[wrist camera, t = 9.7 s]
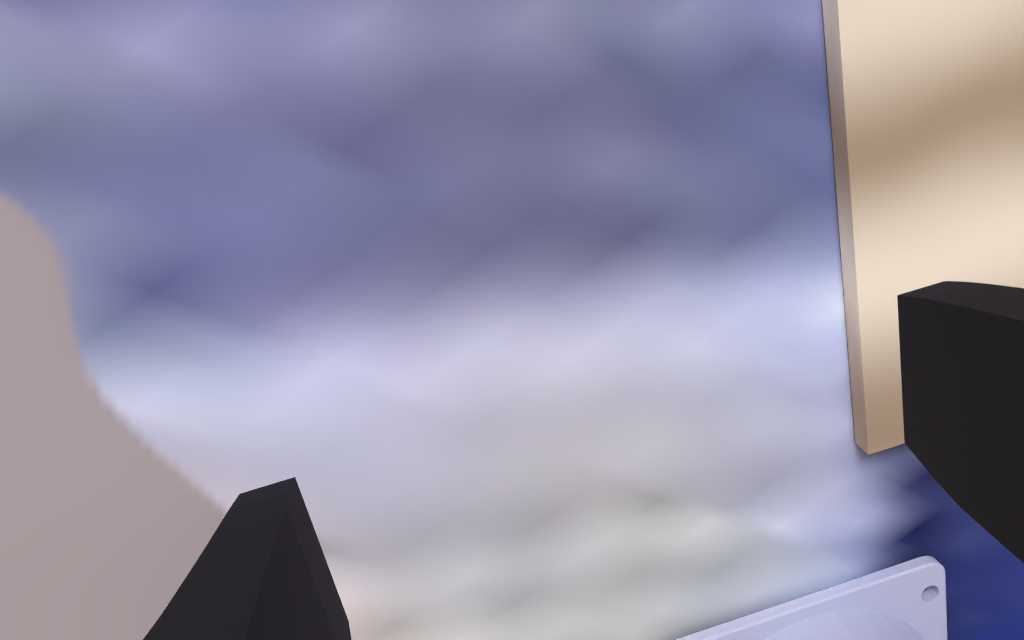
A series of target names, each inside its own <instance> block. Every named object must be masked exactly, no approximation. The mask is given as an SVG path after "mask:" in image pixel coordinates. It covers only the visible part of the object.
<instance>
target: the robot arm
mask: <svg viewBox="0 0 1024 640" xmlns="http://www.w3.org/2000/svg"><path fill="white" fill-rule="evenodd" d="M897 301H898V321H899V342H900V362H901V382H902V403H903V423H904V442H905V444H906V445H907V446H908V447H909V448H910V450H911V451H912V452H913V453H914V454H915V456H916V457H917V458H918V459H919V461H920V462H921V463H922V464H923V465H924V467H925V468H926V469H927V470H928V471H929V473H930V474H931V475H932V476H933V477H934V479H935V480H936V481H937V482H938V483H939V484H940V485H941V486H942V488H943V489H944V490H945V491H946V492H947V493H948V494H949V495H950V496H951V498H952V499H953V500H954V501H955V502H956V503H957V504H958V505H959V506H960V507H961V508H962V509H963V510H964V511H965V512H966V513H968V514H969V515H970V516H971V517H972V518H973V519H974V520H975V521H976V522H978V523H979V524H980V525H981V526H982V527H983V528H984V529H985V530H987V531H988V532H989V533H990V534H991V535H992V536H993V537H994V538H996V539H997V540H998V541H999V542H1000V543H1001V544H1002V545H1003V546H1005V547H1006V548H1007V549H1008V550H1009V551H1010V552H1011V553H1013V554H1014V555H1015V556H1016V557H1017V558H1018V559H1020V560H1021V561H1022V562H1023V563H1024V288H1018V287H1010V286H1002V285H994V284H985V283H975V282H960V281H943V282H940V283H936V284H933V285H930V286H926V287H923V288H920V289H916V290H913V291H910V292H907V293H903V294H900V295H897ZM927 587H928V588H927ZM926 588H927V589H926ZM925 589H926V590H925ZM143 640H351V634H350V628H349V622H348V619H347V616H346V613H345V611H344V608H343V605H342V603H341V600H340V597H339V594H338V592H337V589H336V586H335V584H334V581H333V578H332V576H331V573H330V570H329V568H328V565H327V562H326V559H325V557H324V554H323V551H322V549H321V546H320V543H319V541H318V538H317V535H316V533H315V530H314V527H313V524H312V522H311V519H310V516H309V514H308V511H307V508H306V506H305V503H304V500H303V497H302V495H301V492H300V489H299V487H298V484H297V481H296V479H295V477H294V478H291V479H288V480H284V481H281V482H278V483H274V484H271V485H268V486H264V487H261V488H258V489H254V490H251V491H248V492H245V493H241V494H240V495H239V496H238V497H237V499H236V500H235V502H234V503H233V505H232V506H231V508H230V509H229V511H228V512H227V514H226V516H225V517H224V519H223V520H222V522H221V523H220V525H219V527H218V528H217V530H216V531H215V533H214V535H213V536H212V538H211V540H210V541H209V543H208V544H207V546H206V547H205V549H204V551H203V552H202V554H201V555H200V557H199V559H198V560H197V562H196V563H195V565H194V566H193V568H192V569H191V571H190V572H189V574H188V575H187V577H186V579H185V580H184V581H183V583H182V584H181V586H180V587H179V589H178V591H177V592H176V594H175V595H174V597H173V598H172V600H171V601H170V603H169V604H168V606H167V607H166V609H165V610H164V612H163V613H162V615H161V616H160V617H159V619H158V620H157V621H156V623H155V624H154V626H153V627H152V628H151V630H150V631H149V632H148V634H147V635H146V636H145V638H144V639H143ZM676 640H947V612H946V578H945V569H944V567H943V566H942V565H941V564H940V563H939V562H938V561H937V560H936V559H935V558H934V557H931V556H922V557H918V558H915V559H913V560H910V561H907V562H904V563H901V564H898V565H895V566H892V567H889V568H886V569H883V570H880V571H877V572H874V573H871V574H868V575H865V576H862V577H859V578H856V579H853V580H850V581H847V582H844V583H841V584H839V585H836V586H833V587H830V588H827V589H824V590H821V591H818V592H815V593H812V594H809V595H806V596H803V597H800V598H797V599H794V600H791V601H788V602H785V603H782V604H779V605H776V606H773V607H770V608H768V609H765V610H762V611H759V612H756V613H753V614H750V615H747V616H744V617H741V618H738V619H735V620H732V621H729V622H726V623H723V624H720V625H717V626H714V627H711V628H708V629H705V630H702V631H699V632H696V633H694V634H691V635H688V636H685V637H682V638H679V639H676Z"/></svg>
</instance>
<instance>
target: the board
mask: <svg viewBox="0 0 1024 640" xmlns="http://www.w3.org/2000/svg"><path fill="white" fill-rule="evenodd" d="M822 7H823V20H824V33H825V47H826V60H827V74H828V87H829V100H830V114H831V127H832V141H833V154H834V167H835V181H836V194H837V208H838V221H839V234H840V248H841V261H842V275H843V288H844V301H845V315H846V328H847V342H848V355H849V368H850V382H851V395H852V409H853V422H854V435H855V444H857V445H858V446H859V447H860V448H861V449H862V450H863V451H865V452H866V453H867V454H868V455H870V454H873V453H876V452H879V451H882V450H886V449H889V448H892V447H895V446H898V445H901V444H904V443H905V442H904V423H903V403H902V382H901V362H900V342H899V321H898V301H897V295H900V294H903V293H907V292H910V291H913V290H916V289H920V288H923V287H926V286H930V285H933V284H936V283H940V282H943V281H960V282H975V283H985V284H994V285H1002V286H1010V287H1018V288H1024V0H822Z"/></svg>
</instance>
